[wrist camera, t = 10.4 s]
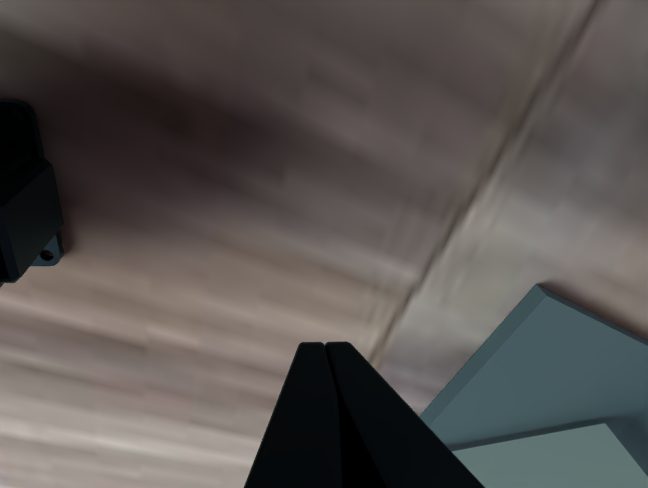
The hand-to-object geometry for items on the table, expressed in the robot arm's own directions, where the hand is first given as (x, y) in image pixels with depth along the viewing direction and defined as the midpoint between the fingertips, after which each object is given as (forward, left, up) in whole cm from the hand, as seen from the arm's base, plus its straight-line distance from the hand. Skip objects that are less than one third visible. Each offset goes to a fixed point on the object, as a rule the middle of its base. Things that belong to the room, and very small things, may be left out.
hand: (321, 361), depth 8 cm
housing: (+16, -15, -12) cm, 25 cm away
